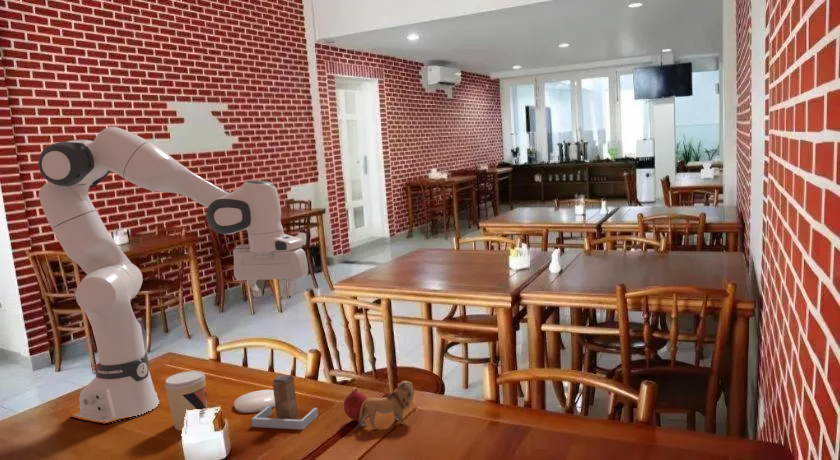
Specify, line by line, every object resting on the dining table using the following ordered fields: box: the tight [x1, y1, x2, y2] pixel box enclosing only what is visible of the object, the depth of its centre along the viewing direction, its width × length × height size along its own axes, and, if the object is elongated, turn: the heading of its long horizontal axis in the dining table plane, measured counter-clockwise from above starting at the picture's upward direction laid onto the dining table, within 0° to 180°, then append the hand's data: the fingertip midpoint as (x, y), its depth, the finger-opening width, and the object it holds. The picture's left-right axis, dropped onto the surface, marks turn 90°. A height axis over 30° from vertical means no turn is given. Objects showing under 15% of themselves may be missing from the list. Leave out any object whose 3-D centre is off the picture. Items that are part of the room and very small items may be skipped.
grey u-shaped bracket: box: [250, 406, 319, 431], centre depth 151 cm, size 14×8×2 cm, turn 72°
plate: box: [233, 389, 276, 414], centre depth 165 cm, size 12×12×1 cm
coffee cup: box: [164, 370, 208, 431], centre depth 155 cm, size 9×9×12 cm
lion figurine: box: [354, 380, 415, 430], centre depth 144 cm, size 15×5×9 cm, turn 111°
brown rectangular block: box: [272, 374, 299, 420], centre depth 152 cm, size 4×4×10 cm
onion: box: [343, 387, 368, 422], centre depth 147 cm, size 6×6×8 cm
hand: (273, 296), depth 164 cm, fingers open, 8 cm apart
